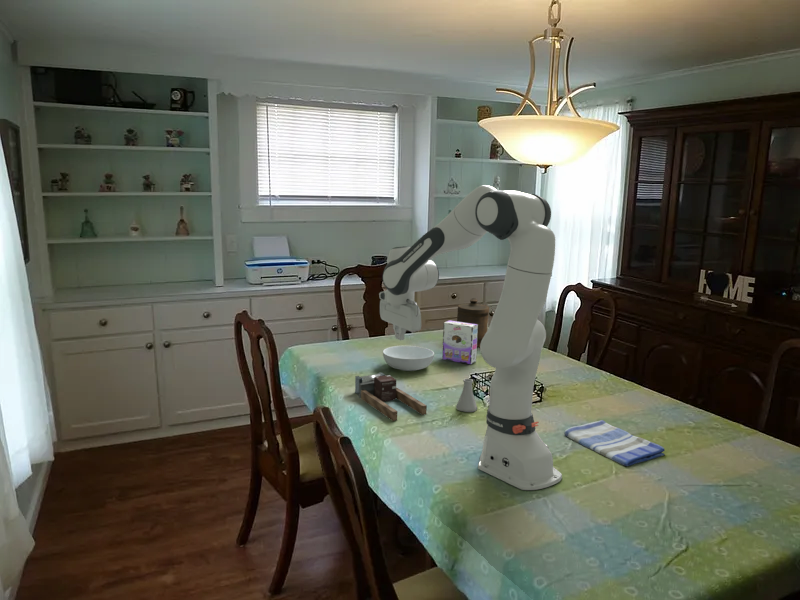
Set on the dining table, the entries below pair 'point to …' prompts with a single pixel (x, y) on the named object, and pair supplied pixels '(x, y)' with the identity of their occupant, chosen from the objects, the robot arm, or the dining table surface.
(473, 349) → the candy box
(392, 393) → the box
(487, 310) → the wooden container
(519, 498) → the dining table surface
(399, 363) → the serving bowl
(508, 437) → the robot arm
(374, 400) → the bay
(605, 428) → the dish towel
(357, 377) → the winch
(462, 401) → the flask
